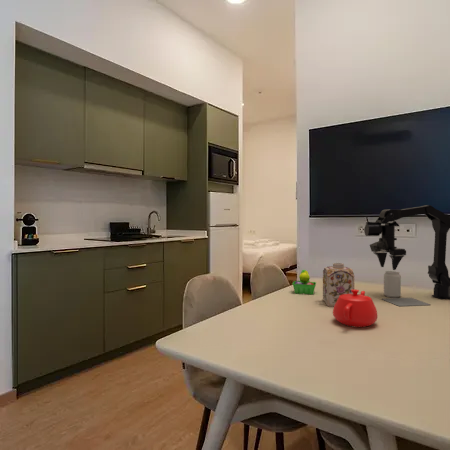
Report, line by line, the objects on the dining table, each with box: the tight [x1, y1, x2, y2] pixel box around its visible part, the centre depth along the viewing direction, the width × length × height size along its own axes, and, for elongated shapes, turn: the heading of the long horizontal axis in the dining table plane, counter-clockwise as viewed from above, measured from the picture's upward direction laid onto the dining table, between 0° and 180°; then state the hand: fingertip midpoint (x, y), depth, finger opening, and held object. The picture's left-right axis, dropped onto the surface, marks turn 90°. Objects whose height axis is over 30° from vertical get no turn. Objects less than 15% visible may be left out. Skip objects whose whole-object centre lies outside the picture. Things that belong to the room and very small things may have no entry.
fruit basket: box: [292, 269, 317, 295], centre depth 180 cm, size 11×9×11 cm
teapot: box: [332, 288, 378, 328], centre depth 131 cm, size 25×16×12 cm, turn 145°
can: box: [383, 270, 402, 298], centre depth 171 cm, size 8×8×12 cm
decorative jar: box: [322, 262, 355, 307], centre depth 158 cm, size 12×12×18 cm
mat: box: [381, 297, 432, 307], centre depth 160 cm, size 15×13×1 cm
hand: (388, 268), depth 169 cm, fingers open, 9 cm apart
